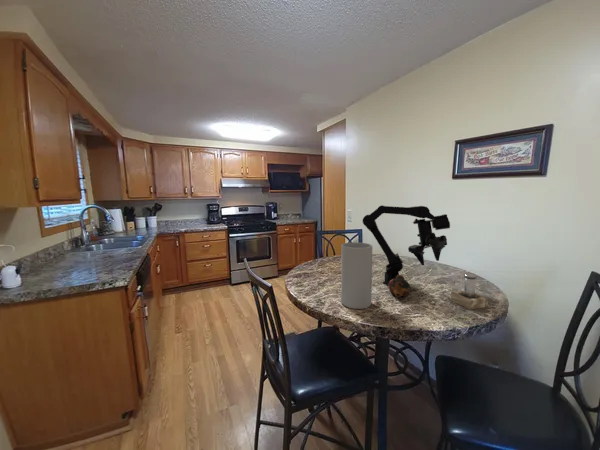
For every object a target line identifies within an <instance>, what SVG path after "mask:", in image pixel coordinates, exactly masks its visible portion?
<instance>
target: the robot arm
mask: <svg viewBox="0 0 600 450" xmlns="http://www.w3.org/2000/svg"><path fill="white" fill-rule="evenodd" d="M430 210H431V209H429V208H428V206H425V205H418V206H417V205H415V206H408V207H407V206H393V205H392V206H390V205H389V206H388V205H380V206H378V207H377V208H376V209H375V210H374V211H373V212H372V211H371V213H369V214H365V216H364V217H363V218H362V224H363V226H364V227H365V228H367V230H369V231H370V232H371V234H372V235H373V237H374V238H375V240H376V241H377V243H378V245H379V246H380V248H381V250H382V251H383V253H384V255H385V256H386V259H387V261H388V264H386V266H385V272H384V281H382V284H384V285H386V286H388V283H389V281H391V280H392V279H394V278H396V276H398V275H400V273H399V272H401V271H402V270H403V268H404V266H403V263H404V261H403V259H402V258H401V257H400V255H399V253H397V252H396V253H395V252H394V251H393V250H392V249H391V247H390V245H389V243H388V242H387V240H386V238H385V237H384V235H383V234H382V232H381V231H380V230H379V227H378V224H377V222H376V220H377V219H378V218H379V217H380V216H382V215H383V214H391V215H404V216H405V215H407V216H411V217H415V219H414V220H413V222H412V223H413V224H414V225H417V229H418V234H417V237H419V241H420V242H418V244H412V245H410V246H408V247H407V249H408V253H411V254H413V256H415V257H416V258H417V260H418V262H419V264H420V265H421V266H425V259H424V254H425V252H426V251H425V249H428V248H431V250H432V252H433V255H434V258H435V260H436V261H437V262H439V261H440V257H441V252H442V250H443V249H444V248H446V246H447V245H448V241H447V236H446V235H444V234H442V235H440V236H436V233H435V232H433V229H435V231H439V230H440V231H441V230H448V229H450V228H451V223H450V221H449V220H450V219H449V217H448V214H446V213H445V214H441V215H435V216H434V214H432V213H431V211H430ZM418 218H420V219H418ZM426 219H428V220H426Z"/></svg>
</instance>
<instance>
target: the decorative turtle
mask: <svg viewBox="0 0 600 450" xmlns="http://www.w3.org/2000/svg"><path fill="white" fill-rule="evenodd" d="M411 287H412V286H411V284H410V283H409V281H408V280H406V279H405V277H404V275H402V274H399V275H398V276H396V278H394V279H392V280H391V281H389V283H388V285H387V288H388V291H389V292H390V294H391V295H392V296H395V297H396V298H401V297H403V298H406V297H407V296H408V295H409V294H410V291H411Z"/></svg>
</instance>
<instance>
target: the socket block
mask: <svg viewBox="0 0 600 450" xmlns="http://www.w3.org/2000/svg"><path fill="white" fill-rule="evenodd" d="M450 301H451V302H453V303H455V304H457V305H460V306H462V307H463V308H466V309H468V310H475V309H481V308H488V307H489V298H488V297H486V296H483V295H481V294H478V293H477V292H475V298H473V299H469V298H466V297H464V296H463V290H461V291H451V292H450Z"/></svg>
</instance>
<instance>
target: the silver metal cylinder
mask: <svg viewBox="0 0 600 450" xmlns="http://www.w3.org/2000/svg"><path fill="white" fill-rule="evenodd" d="M463 274H464V275H463V289H462V291H463V296H464V297H466V298H469V299H473V298H475V293H476V286H477V274H475V273H472V272H464V273H463Z"/></svg>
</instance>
